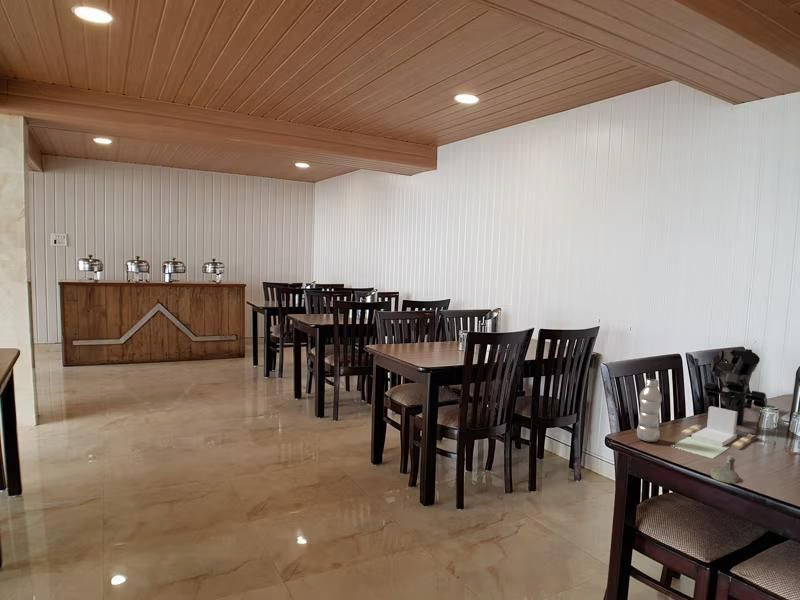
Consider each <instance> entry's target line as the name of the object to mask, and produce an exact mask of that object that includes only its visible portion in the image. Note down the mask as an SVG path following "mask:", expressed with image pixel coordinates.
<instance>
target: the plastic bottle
mask: <svg viewBox="0 0 800 600" xmlns="http://www.w3.org/2000/svg"><path fill="white" fill-rule="evenodd" d="M659 383H660V382H659V379H654V378H646V379H645V383H644V385H645V387H644V388H643V389H642V390H641V391H640V393H639V404H640V405H639V406H640V407H639V410H640V411H639V420H638V425H637V429H636V435H637V438H638V439H640V440H642V441H645V442H651V443H654V442H657V441H658V440H659V439H660V427H659V423H660V421H659V416H660V415H659V414H660V408H661V405H662V401H663V396H662V393H661V391H660V390H659V388H658V387H659Z"/></svg>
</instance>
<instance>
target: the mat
mask: <svg viewBox="0 0 800 600" xmlns="http://www.w3.org/2000/svg"><path fill="white" fill-rule="evenodd" d="M674 444H677V445H676V446H677V447H675V448H674V449H676V448H678V449H677V450H680V449H681V450H680V451H683V450H684V452H688V453H690V452H691V453H692V454H694V455H697V454H698V456H701V457H705V458H709V459H711V460H712V459H715V458H717V457H718V456H719V455H721V454H722V453H724V452H725V451H726V450H728V449H729V448H730V446H726V445H724V446H723V447H720V446H716V445H713V444H709V443H705V442H701V441H697V440H693V439H691V436H686V437H685V438H683V439H681V440H679V441H678V442H676V443H674ZM674 444H672V445H671V446H673V447H674V446H675V445H674ZM678 444H679V445H678ZM673 447H672V448H673ZM691 453H690V454H691Z"/></svg>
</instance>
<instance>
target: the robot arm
mask: <svg viewBox="0 0 800 600" xmlns="http://www.w3.org/2000/svg"><path fill="white" fill-rule="evenodd" d="M722 360H723V361H722ZM760 360H761V358H760V356H759V355H758V354H757V353H755V352H753V350H752V349H748V348H746V349H739V348H738V349H737V348H736V349H735V348H730V349H722V350H721V349H720V350H719V352H718V354H717V355H715V356H714V357H713V358H712V360H711V364H710V368H709V370H710V372H711V374H712V375H713V376H714V377H717V378H719V379H720V380H721V383H723V386H724V387H722V388H720V386H719V384H718V383H714V382H708V381H707V382H705V383H704V386H703V390H704V394H705V396H706V397H709V398H713V399H716V398H719V396H721V404H722V405H723V406H725V409H727V410H731V411H736V412H738V413H737V423H736V425H739V426H742V425H744V424H746V423H747V421H746V420H744V415H745V409H748V410H749V409H751V408H752V404H753V405H754V407H758V408H763V407H765V408H767V406H768V398H767V394H766V393H765V392H762V391H757V390H752V391H751V390H750V387H749V384H750V381H751V378H752V376H753V373H754V372H755V370H756V368H757V366H758V365H759V363H760ZM724 361H728V362H724ZM763 409H764V408H763Z"/></svg>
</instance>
